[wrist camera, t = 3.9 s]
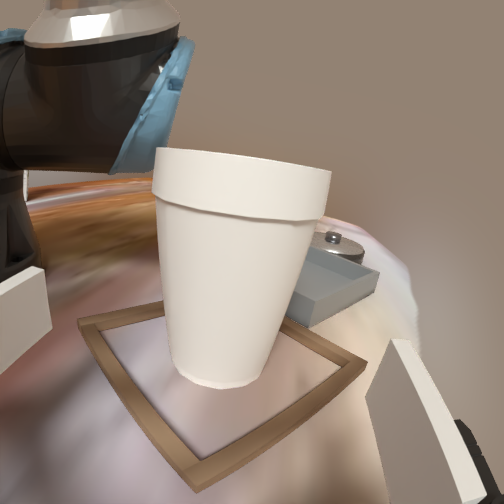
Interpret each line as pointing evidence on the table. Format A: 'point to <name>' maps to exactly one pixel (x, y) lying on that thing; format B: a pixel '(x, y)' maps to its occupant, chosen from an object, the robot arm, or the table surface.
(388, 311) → the table surface
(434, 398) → the robot arm
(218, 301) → the foam cup
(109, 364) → the square wooden frame
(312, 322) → the tray
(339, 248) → the metal pot lid
